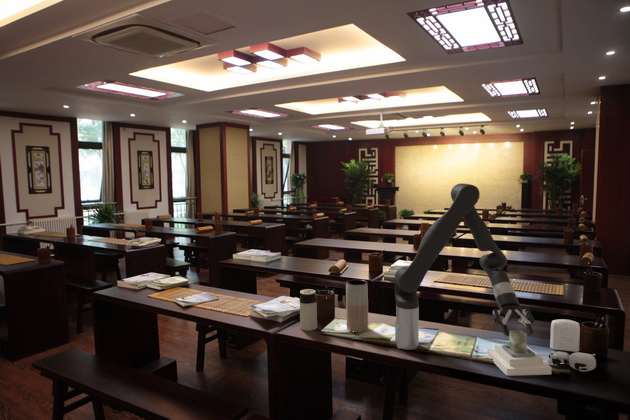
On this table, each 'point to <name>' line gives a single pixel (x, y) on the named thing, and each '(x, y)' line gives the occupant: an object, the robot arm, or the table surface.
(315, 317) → the travel mug
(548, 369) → the plinth
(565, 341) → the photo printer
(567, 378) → the table surface
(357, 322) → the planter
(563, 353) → the robot toy
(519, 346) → the block
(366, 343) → the table surface
